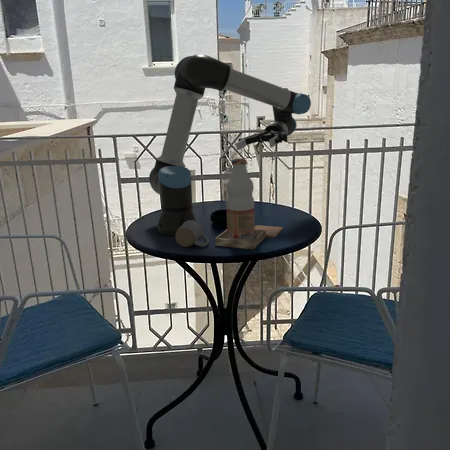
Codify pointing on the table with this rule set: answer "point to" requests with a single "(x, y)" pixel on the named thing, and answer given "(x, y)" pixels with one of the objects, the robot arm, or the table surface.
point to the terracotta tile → (269, 230)
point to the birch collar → (223, 241)
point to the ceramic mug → (190, 234)
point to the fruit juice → (240, 203)
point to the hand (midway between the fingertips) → (253, 145)
